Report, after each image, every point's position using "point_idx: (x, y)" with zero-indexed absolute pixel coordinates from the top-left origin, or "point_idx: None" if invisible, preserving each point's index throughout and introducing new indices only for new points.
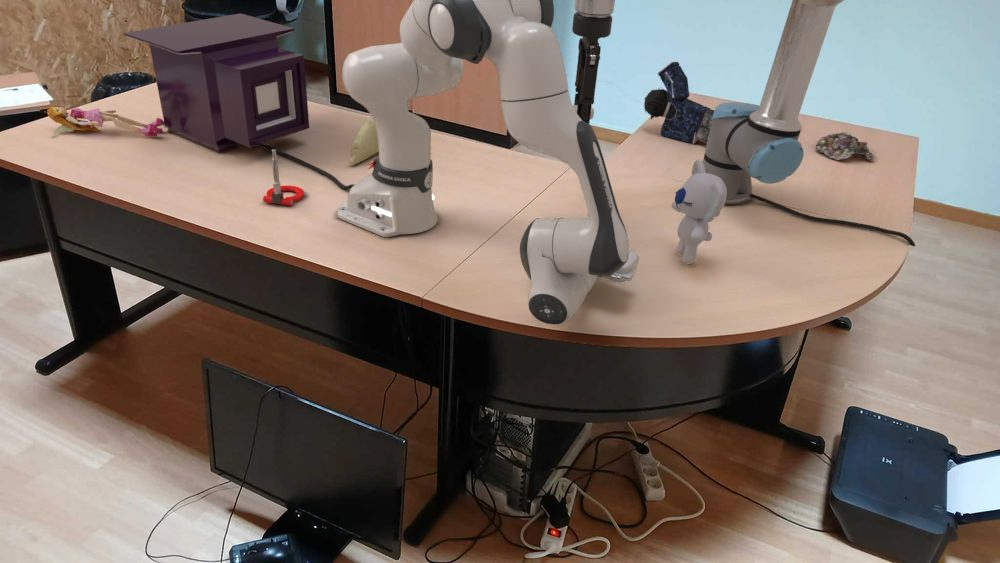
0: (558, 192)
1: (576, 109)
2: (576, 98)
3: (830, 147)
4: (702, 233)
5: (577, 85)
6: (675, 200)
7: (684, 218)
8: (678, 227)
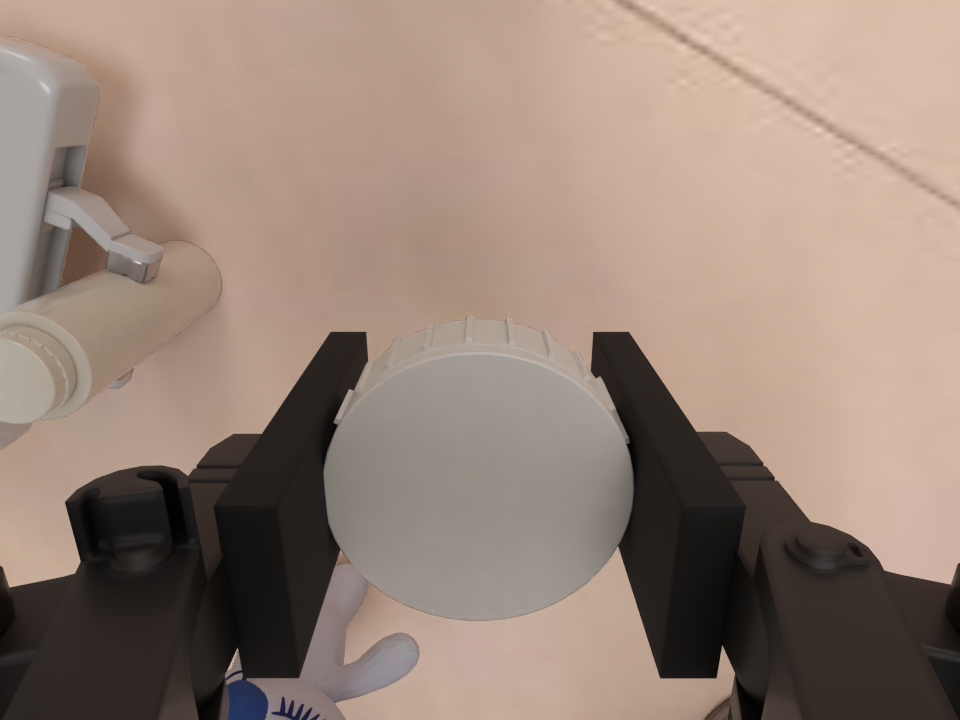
0: (825, 207)
1: (431, 429)
2: (663, 485)
3: None
4: None
5: (775, 631)
6: (231, 686)
7: None
8: None
